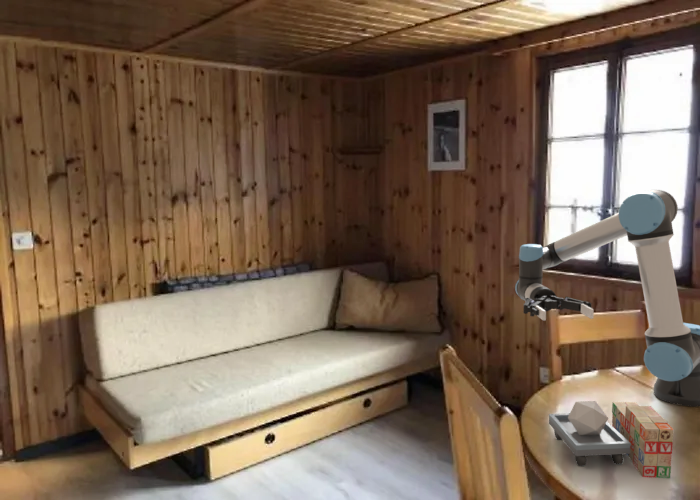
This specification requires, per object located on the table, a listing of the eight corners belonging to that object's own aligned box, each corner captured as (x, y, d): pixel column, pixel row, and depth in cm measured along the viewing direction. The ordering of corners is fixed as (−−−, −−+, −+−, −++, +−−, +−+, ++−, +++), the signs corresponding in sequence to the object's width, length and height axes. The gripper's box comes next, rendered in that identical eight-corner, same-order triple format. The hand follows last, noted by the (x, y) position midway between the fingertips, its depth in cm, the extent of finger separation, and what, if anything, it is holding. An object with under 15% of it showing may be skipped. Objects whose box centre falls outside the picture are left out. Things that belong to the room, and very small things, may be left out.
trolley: (596, 433, 150) (597, 412, 149) (629, 467, 133) (630, 443, 132) (548, 435, 149) (549, 413, 148) (575, 469, 132) (576, 445, 132)
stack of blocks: (610, 434, 150) (612, 390, 148) (635, 434, 149) (637, 391, 147) (642, 477, 128) (645, 428, 127) (671, 479, 128) (674, 428, 126)
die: (603, 446, 134) (618, 410, 136) (570, 428, 135) (586, 392, 137) (588, 442, 142) (603, 408, 144) (558, 425, 143) (573, 391, 145)
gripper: (579, 307, 179) (611, 326, 158) (502, 310, 178) (524, 329, 157) (579, 284, 177) (612, 300, 156) (502, 287, 177) (524, 303, 156)
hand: (568, 314), depth 157 cm, fingers open, 13 cm apart
